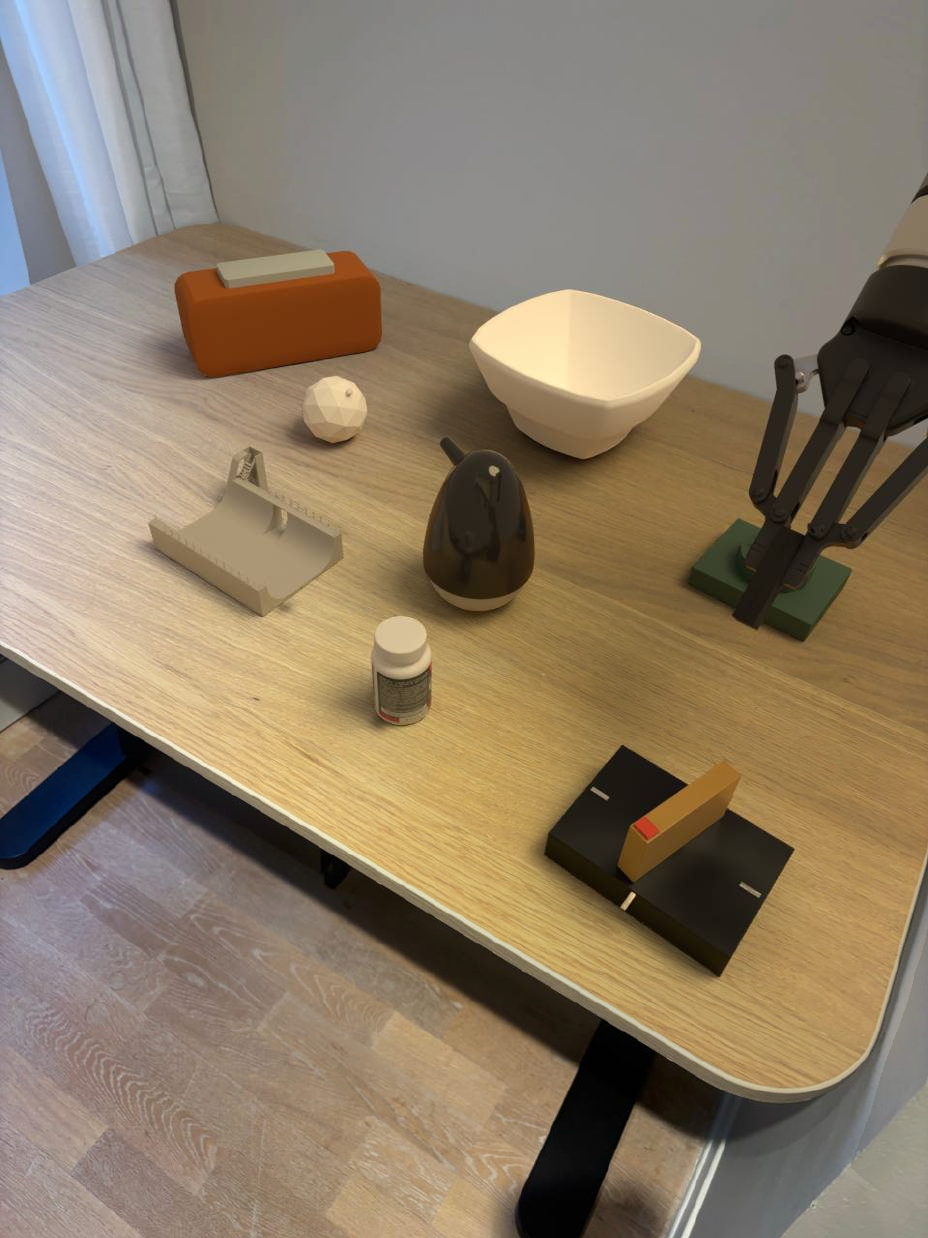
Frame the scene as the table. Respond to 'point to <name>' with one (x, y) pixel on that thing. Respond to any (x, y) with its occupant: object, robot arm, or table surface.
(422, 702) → the pill bottle
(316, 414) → the ornament
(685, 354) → the bowl
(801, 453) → the robot arm
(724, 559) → the button block
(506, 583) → the pump dispenser
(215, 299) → the alarm clock
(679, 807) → the rectangular block
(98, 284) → the table surface
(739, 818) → the knob panel
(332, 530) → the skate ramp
